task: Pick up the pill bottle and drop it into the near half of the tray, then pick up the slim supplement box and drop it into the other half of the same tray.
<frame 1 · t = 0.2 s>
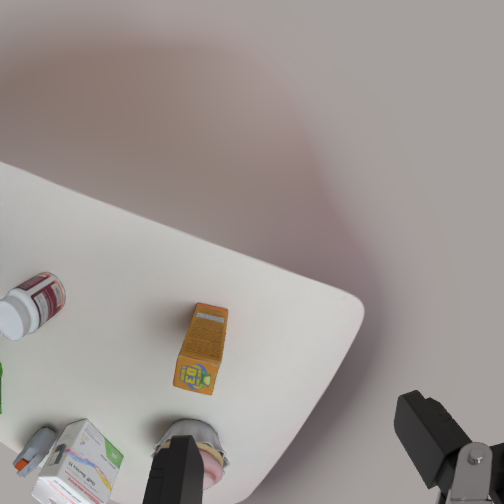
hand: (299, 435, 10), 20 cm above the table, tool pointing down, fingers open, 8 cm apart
pill bottle: (50, 291, 29), on the table
cupcake: (194, 433, 34), on the table
ink box: (96, 439, 34), on the table
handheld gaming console: (42, 437, 34), on the table
supplement box: (208, 318, 30), on the table
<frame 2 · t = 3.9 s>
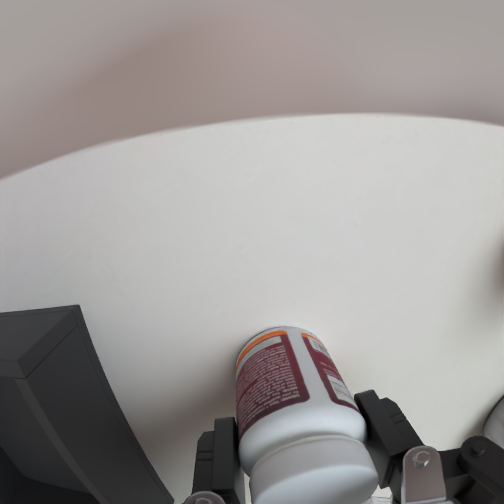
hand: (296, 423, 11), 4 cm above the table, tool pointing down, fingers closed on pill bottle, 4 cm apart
pill bottle: (281, 363, 15), on the table, touching gripper
tray: (37, 422, 15), on the table
when the fingers open (5 cm above the table, at t = 11.5 s): pill bottle stays where it is, resting on tray.
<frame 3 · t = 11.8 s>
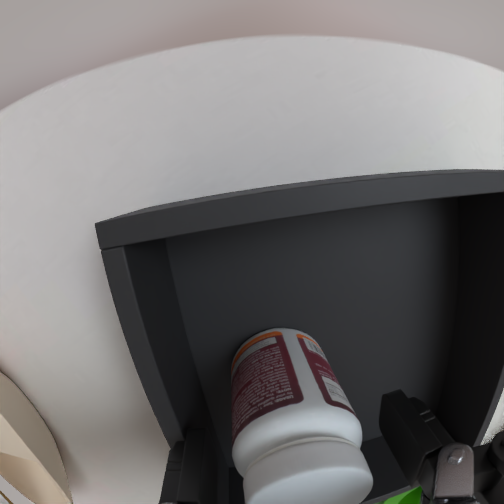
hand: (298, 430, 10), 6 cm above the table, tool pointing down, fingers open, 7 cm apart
pill bottle: (277, 364, 15), point 1 cm above the table, touching tray
tray: (337, 346, 16), on the table
toy sailboat: (21, 408, 16), on the table
green ring bracket: (385, 480, 20), on the table
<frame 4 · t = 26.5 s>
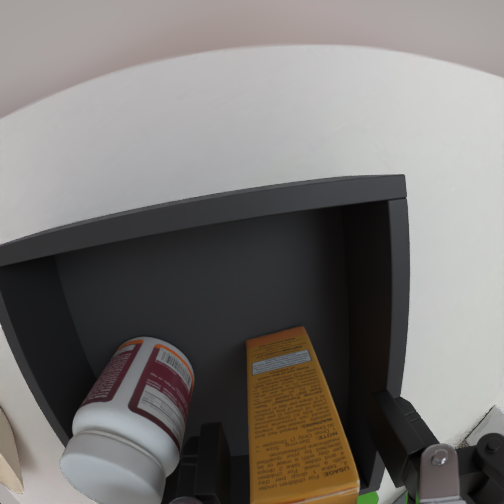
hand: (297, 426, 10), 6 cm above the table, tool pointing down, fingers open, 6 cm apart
pill bottle: (155, 369, 16), point 1 cm above the table, touching tray, gripper
ink box: (490, 426, 21), on the table
tray: (214, 358, 17), on the table
supplement box: (276, 354, 16), point 1 cm above the table, touching tray
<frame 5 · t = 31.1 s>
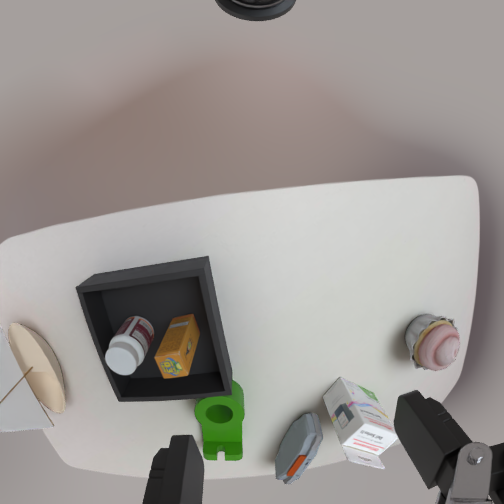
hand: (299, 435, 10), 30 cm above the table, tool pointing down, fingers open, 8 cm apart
pill bottle: (139, 330, 40), point 1 cm above the table, touching tray
cupcake: (420, 330, 44), on the table
ink box: (348, 393, 45), on the table
tray: (162, 326, 41), on the table
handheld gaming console: (292, 433, 47), on the table
supplement box: (185, 325, 40), point 1 cm above the table, touching tray
toy sailboat: (46, 353, 41), on the table
green ring bracket: (221, 411, 45), on the table
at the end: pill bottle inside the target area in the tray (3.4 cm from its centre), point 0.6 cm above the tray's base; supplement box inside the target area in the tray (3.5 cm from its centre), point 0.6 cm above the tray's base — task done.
